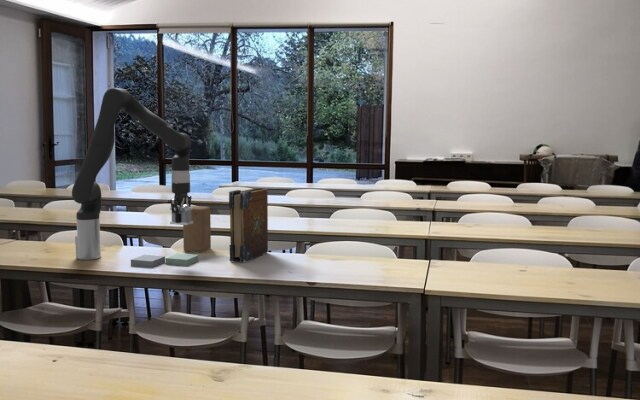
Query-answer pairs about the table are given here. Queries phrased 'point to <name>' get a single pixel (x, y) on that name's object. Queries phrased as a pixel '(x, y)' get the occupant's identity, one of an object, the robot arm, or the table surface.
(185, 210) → the housing
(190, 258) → the stand
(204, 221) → the wooden block
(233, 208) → the decorative book
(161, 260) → the stand
